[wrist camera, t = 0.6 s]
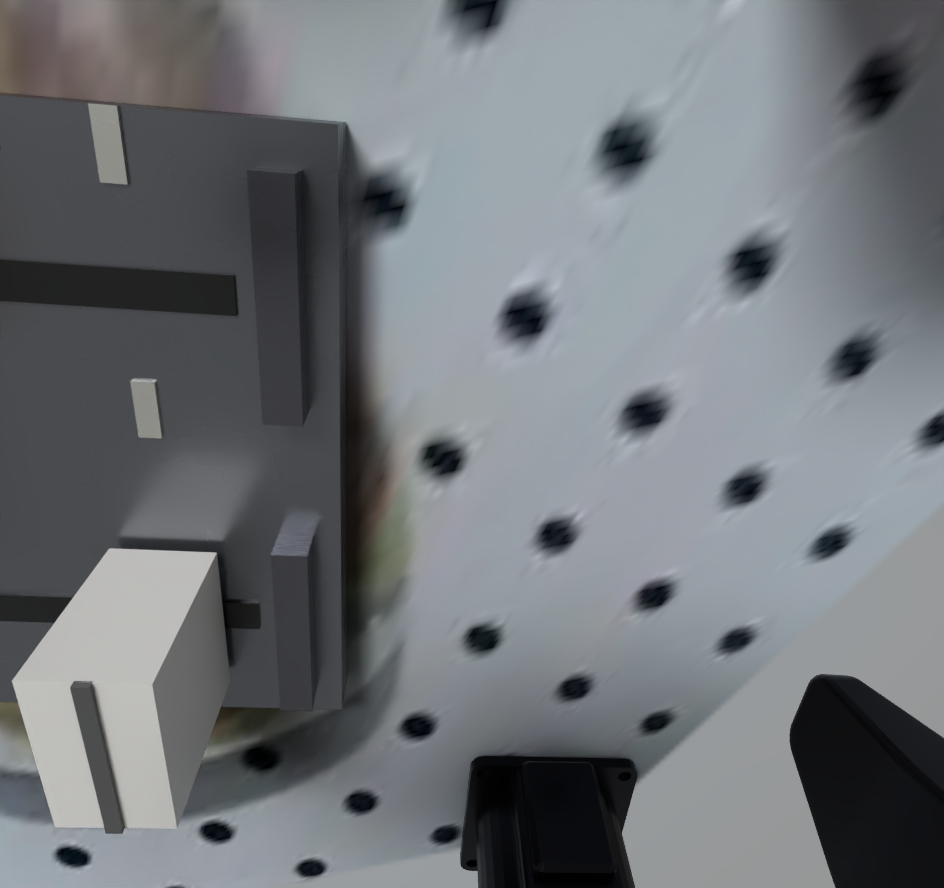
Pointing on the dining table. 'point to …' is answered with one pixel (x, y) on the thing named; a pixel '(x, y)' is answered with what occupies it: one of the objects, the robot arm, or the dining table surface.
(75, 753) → the fader
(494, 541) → the dining table surface
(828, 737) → the robot arm
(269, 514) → the grey slider panel
